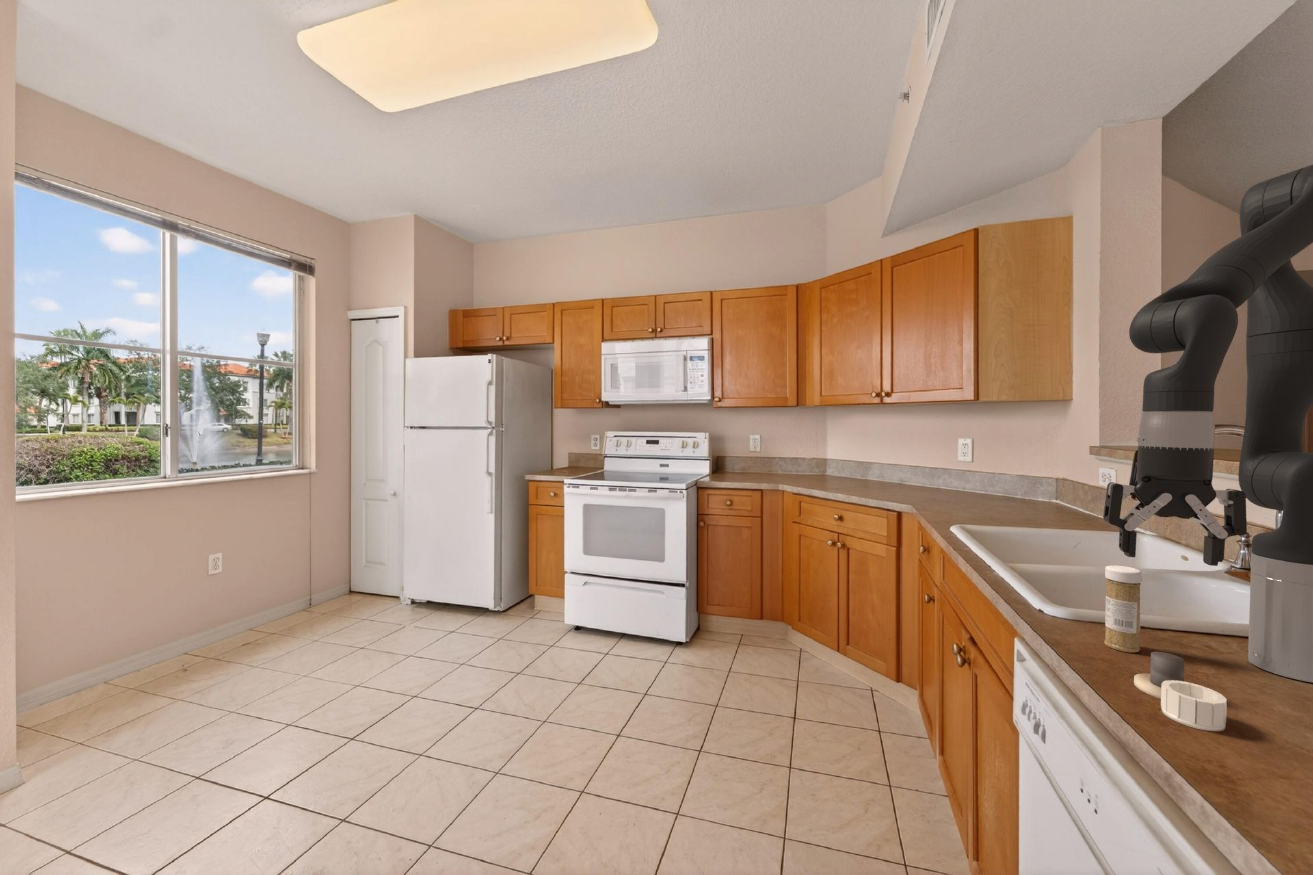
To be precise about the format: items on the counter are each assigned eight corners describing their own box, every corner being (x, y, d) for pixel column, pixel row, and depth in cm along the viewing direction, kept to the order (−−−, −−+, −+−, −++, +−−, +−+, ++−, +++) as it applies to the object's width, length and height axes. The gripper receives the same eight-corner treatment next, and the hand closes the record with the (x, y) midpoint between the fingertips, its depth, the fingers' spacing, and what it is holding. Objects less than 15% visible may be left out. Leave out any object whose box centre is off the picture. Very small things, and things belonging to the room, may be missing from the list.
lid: (1162, 679, 78) (1163, 645, 77) (1216, 703, 71) (1217, 667, 71) (1121, 681, 77) (1121, 647, 77) (1170, 706, 70) (1171, 669, 70)
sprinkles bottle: (1143, 649, 87) (1145, 569, 87) (1134, 656, 85) (1136, 573, 84) (1108, 639, 91) (1110, 563, 91) (1099, 646, 89) (1101, 567, 88)
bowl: (1187, 705, 70) (1188, 679, 70) (1239, 730, 64) (1239, 702, 64) (1149, 707, 70) (1149, 681, 69) (1197, 732, 64) (1198, 704, 64)
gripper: (1118, 443, 73) (1113, 559, 73) (1263, 447, 66) (1256, 574, 67) (1101, 442, 79) (1096, 548, 80) (1230, 445, 73) (1224, 561, 74)
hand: (1169, 560), depth 73 cm, fingers open, 8 cm apart
